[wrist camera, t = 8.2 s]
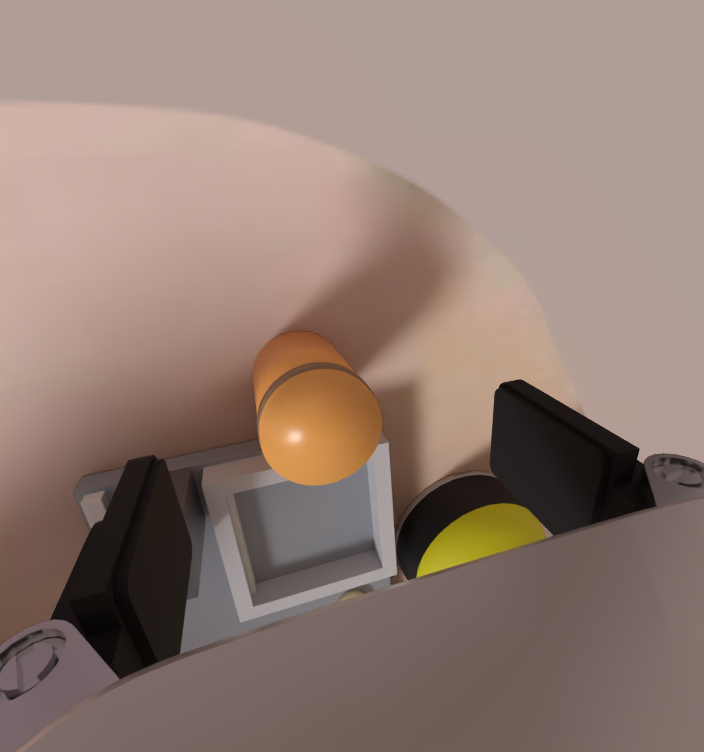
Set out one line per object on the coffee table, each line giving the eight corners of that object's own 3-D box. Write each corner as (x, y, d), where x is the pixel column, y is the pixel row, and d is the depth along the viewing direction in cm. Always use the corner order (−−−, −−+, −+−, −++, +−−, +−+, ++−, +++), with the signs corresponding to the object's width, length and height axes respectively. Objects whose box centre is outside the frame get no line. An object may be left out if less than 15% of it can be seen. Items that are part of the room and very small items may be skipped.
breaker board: (386, 601, 27) (401, 637, 24) (163, 672, 24) (155, 721, 21) (371, 415, 21) (388, 438, 19) (82, 476, 18) (59, 513, 16)
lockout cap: (347, 406, 21) (387, 470, 15) (260, 424, 20) (270, 499, 14) (338, 323, 19) (379, 361, 14) (243, 338, 18) (246, 385, 13)
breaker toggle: (205, 518, 19) (198, 600, 15) (139, 535, 19) (111, 625, 14) (190, 466, 18) (178, 539, 14) (119, 482, 18) (83, 563, 13)
